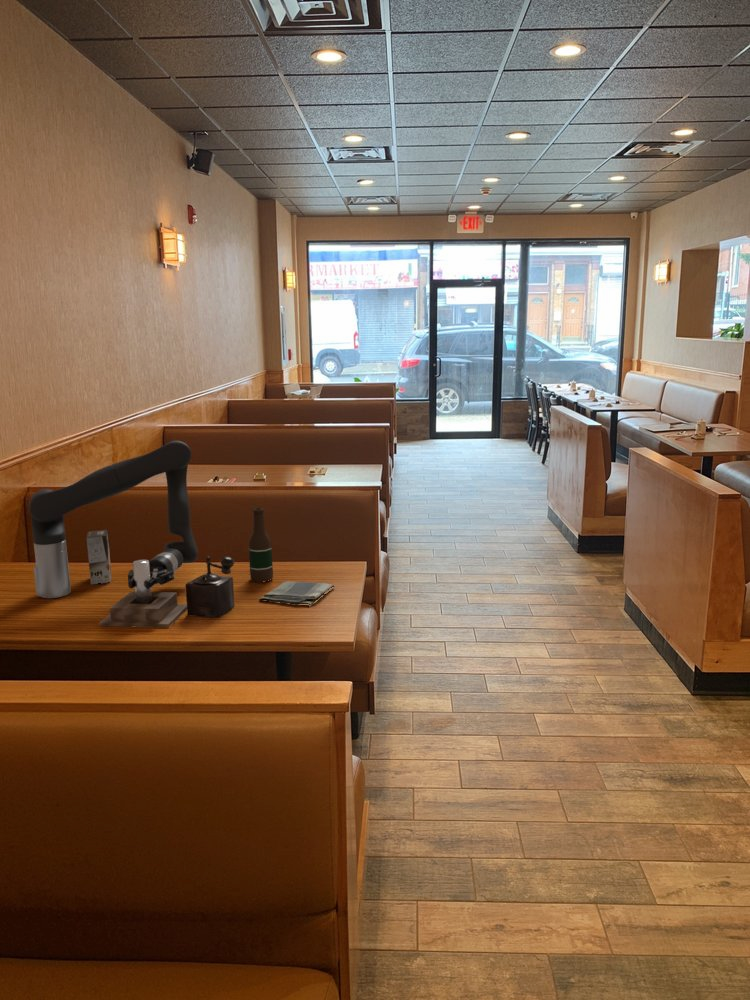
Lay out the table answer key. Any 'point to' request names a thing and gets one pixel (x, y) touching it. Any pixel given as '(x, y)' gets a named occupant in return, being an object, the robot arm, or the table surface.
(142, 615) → the socket block
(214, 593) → the dark manual coffee grinder
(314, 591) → the dish towel
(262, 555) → the beer bottle
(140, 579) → the pin
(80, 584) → the table surface
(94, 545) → the coffee box
